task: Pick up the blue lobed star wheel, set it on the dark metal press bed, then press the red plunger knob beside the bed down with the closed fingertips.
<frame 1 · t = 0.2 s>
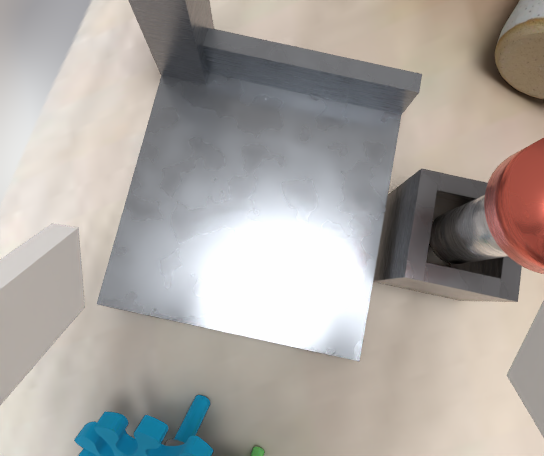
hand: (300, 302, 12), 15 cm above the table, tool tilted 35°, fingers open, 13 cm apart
plunger: (502, 223, 19), point 9 cm above the table, slide at 0.0 cm
blue lobed star wheel: (185, 455, 25), on the table
press: (257, 211, 28), on the table
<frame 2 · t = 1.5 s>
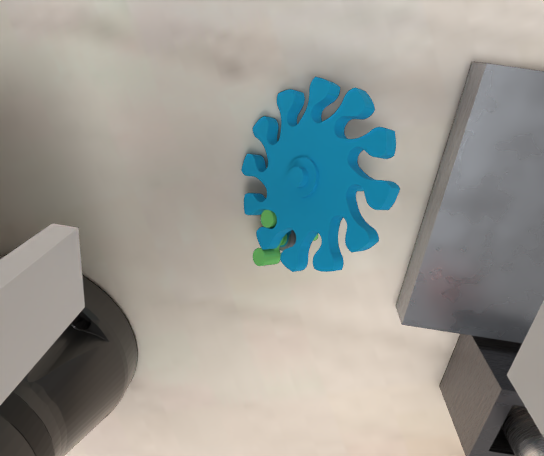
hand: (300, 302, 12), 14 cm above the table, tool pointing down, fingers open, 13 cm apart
blue lobed star wheel: (305, 166, 25), on the table
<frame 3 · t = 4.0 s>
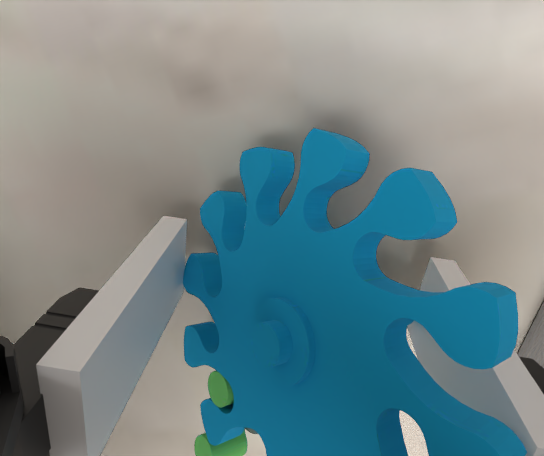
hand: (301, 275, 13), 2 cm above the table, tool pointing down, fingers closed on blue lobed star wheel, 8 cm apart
blue lobed star wheel: (300, 272, 14), point 1 cm above the table, touching gripper
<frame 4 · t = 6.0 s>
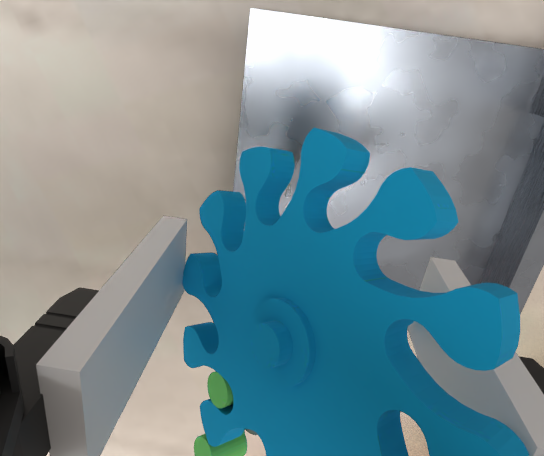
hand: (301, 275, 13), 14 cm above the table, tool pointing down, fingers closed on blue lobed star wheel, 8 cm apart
blue lobed star wheel: (300, 272, 14), point 13 cm above the table, touching gripper
press: (367, 172, 25), on the table
when the fingers open (3 cm above the table, at t = 8.1 s): blue lobed star wheel stays where it is, resting on press.
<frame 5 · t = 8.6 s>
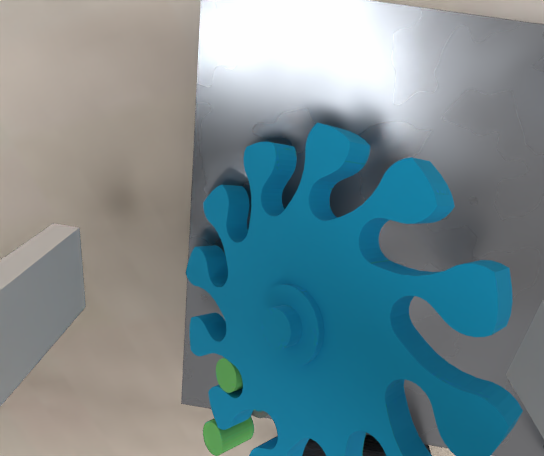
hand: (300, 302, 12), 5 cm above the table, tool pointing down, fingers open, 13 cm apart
blue lobed star wheel: (299, 262, 14), point 2 cm above the table, touching press
press: (404, 249, 16), on the table
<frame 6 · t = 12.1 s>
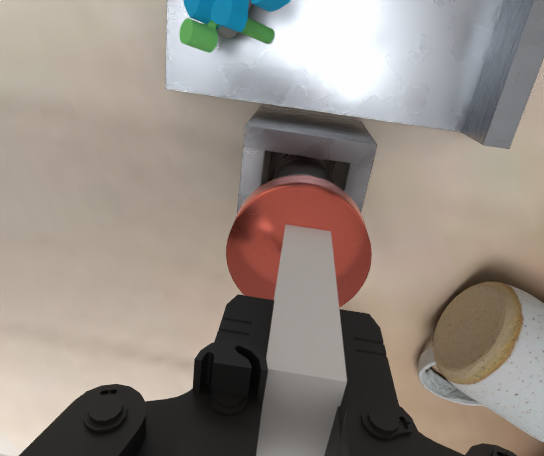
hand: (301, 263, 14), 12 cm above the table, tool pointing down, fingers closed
plunger: (300, 209, 18), point 8 cm above the table, slide at 1.4 cm, touching gripper
ceramic mug: (481, 332, 30), on the table
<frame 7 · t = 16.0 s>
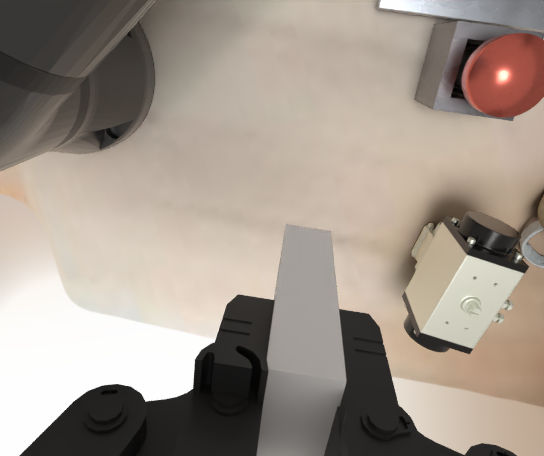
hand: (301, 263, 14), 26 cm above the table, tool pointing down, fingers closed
plunger: (484, 72, 30), point 6 cm above the table, slide at 3.5 cm
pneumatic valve: (435, 242, 42), on the table
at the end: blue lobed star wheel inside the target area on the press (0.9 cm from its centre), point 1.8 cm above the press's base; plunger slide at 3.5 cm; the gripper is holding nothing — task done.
